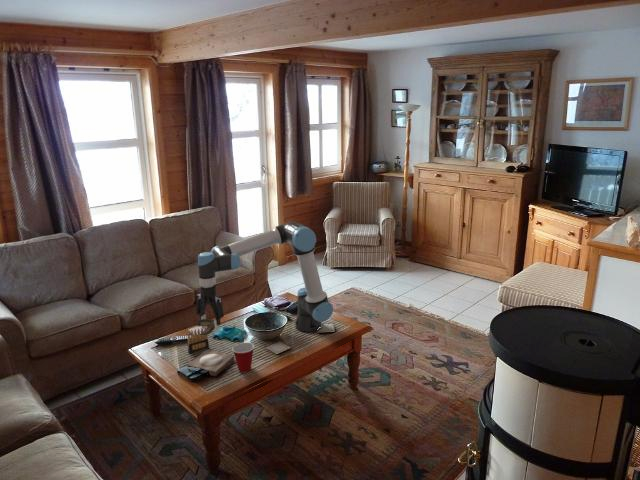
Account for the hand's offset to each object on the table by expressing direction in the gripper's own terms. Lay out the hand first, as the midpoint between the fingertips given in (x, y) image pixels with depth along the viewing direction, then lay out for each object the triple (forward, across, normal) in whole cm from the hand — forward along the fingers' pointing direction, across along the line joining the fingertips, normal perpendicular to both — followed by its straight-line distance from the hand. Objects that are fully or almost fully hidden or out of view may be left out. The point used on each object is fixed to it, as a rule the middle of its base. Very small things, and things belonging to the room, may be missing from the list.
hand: (210, 329), depth 233 cm
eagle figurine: (+1, 0, +1) cm, 1 cm away
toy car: (+18, +8, -27) cm, 34 cm away
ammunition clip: (+18, +14, -8) cm, 24 cm away
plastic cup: (+18, -18, -1) cm, 25 cm away
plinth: (+18, -1, +2) cm, 18 cm away
